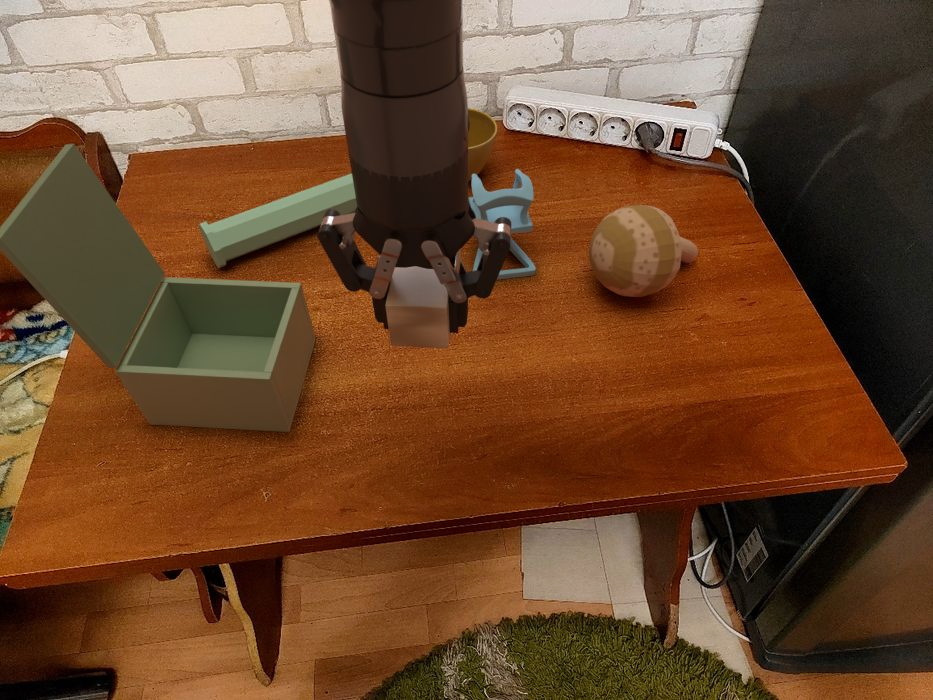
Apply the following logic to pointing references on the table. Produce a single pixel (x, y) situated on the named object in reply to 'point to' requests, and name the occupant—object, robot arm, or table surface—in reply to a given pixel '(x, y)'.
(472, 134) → the flower pot
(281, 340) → the chest
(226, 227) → the green rod
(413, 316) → the block
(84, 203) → the lid
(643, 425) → the table surface
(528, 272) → the chair
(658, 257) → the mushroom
